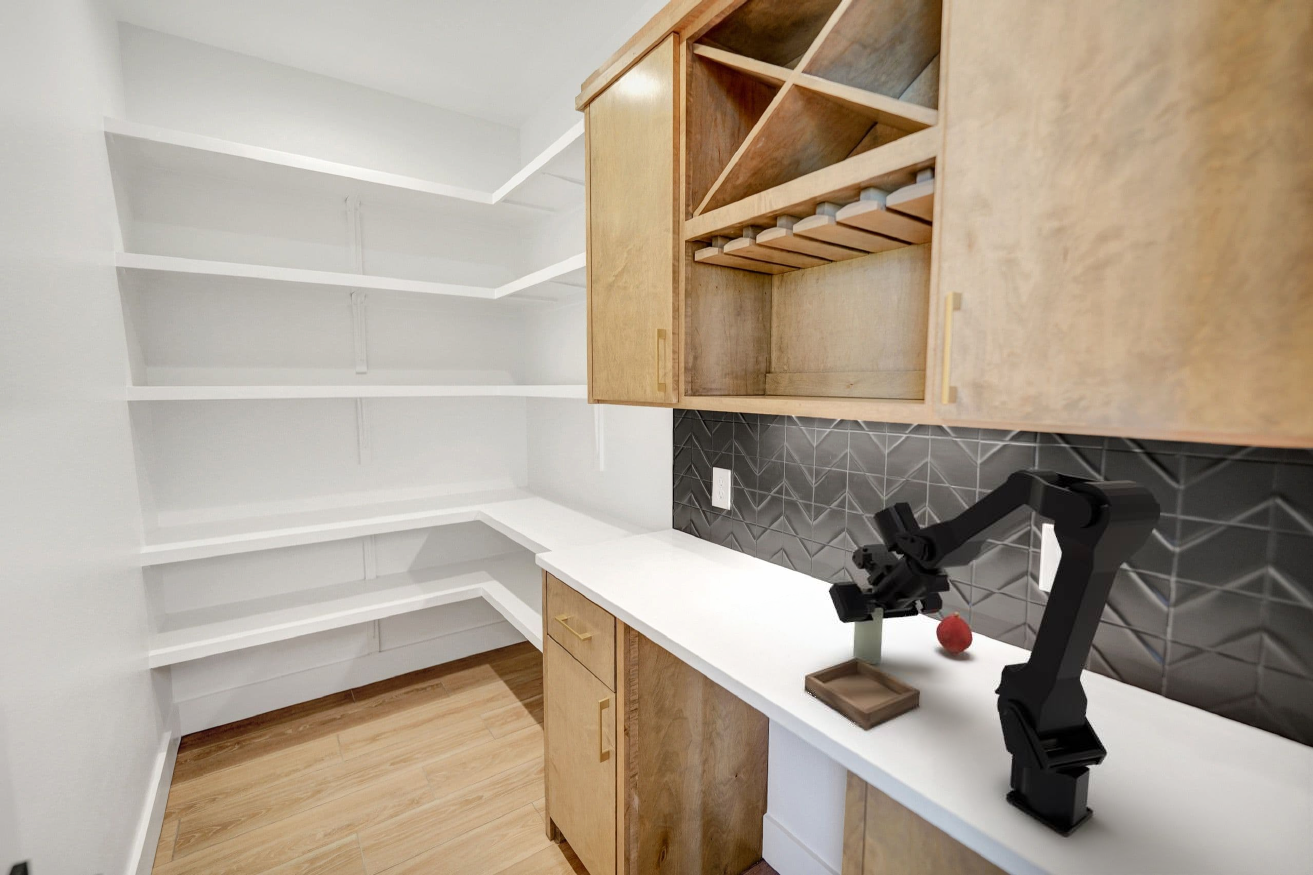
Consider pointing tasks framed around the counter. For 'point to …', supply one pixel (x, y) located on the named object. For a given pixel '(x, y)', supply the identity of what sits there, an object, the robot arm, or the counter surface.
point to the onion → (954, 634)
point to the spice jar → (868, 635)
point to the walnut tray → (862, 692)
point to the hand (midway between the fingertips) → (863, 617)
